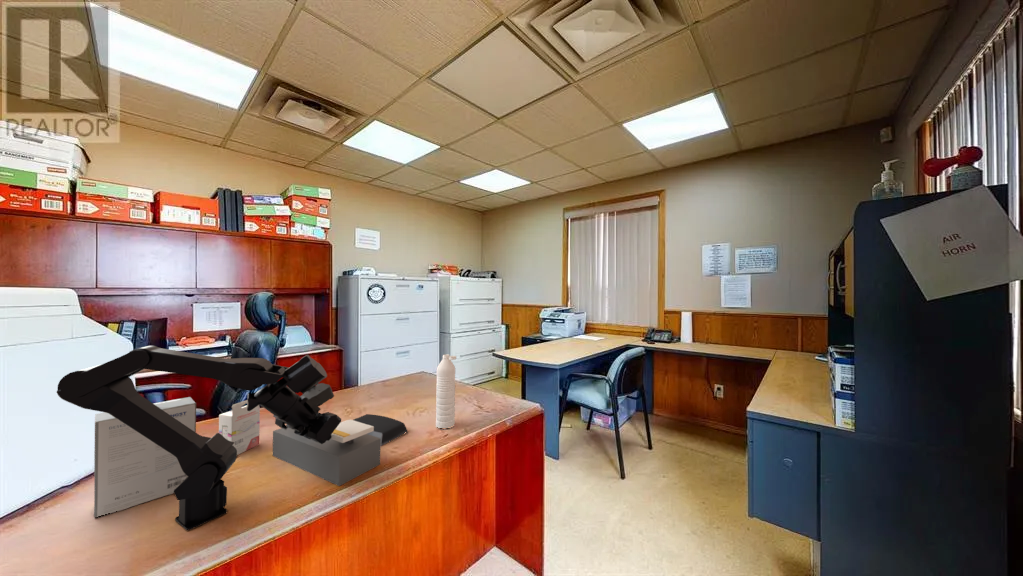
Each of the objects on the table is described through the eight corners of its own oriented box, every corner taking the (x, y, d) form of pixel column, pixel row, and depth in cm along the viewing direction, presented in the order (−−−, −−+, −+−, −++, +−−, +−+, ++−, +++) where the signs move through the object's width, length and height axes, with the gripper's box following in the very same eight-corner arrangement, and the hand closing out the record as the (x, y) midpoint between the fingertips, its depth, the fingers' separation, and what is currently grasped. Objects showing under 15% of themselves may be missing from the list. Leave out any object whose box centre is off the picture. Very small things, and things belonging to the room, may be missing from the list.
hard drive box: (190, 475, 85) (192, 396, 86) (196, 487, 81) (198, 402, 81) (92, 505, 73) (95, 412, 74) (92, 520, 69) (94, 421, 69)
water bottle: (432, 425, 119) (433, 354, 119) (448, 421, 123) (449, 352, 124) (445, 433, 112) (446, 358, 113) (461, 428, 117) (462, 355, 117)
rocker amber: (342, 443, 83) (343, 437, 83) (318, 434, 88) (318, 429, 88) (373, 430, 91) (373, 425, 91) (349, 423, 96) (349, 418, 96)
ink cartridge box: (246, 443, 104) (247, 394, 104) (259, 444, 103) (261, 396, 103) (217, 456, 95) (218, 403, 96) (231, 458, 94) (232, 405, 95)
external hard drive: (378, 448, 102) (378, 435, 102) (335, 436, 110) (335, 423, 111) (409, 433, 114) (409, 420, 114) (368, 422, 122) (368, 411, 122)
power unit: (339, 486, 81) (339, 448, 82) (272, 455, 96) (273, 423, 96) (380, 464, 92) (380, 430, 92) (314, 439, 106) (315, 411, 107)
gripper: (335, 380, 77) (374, 416, 86) (291, 370, 87) (330, 403, 96) (297, 425, 70) (343, 460, 79) (253, 408, 79) (299, 441, 88)
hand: (329, 438), depth 86 cm, fingers closed, pressing on rocker amber
